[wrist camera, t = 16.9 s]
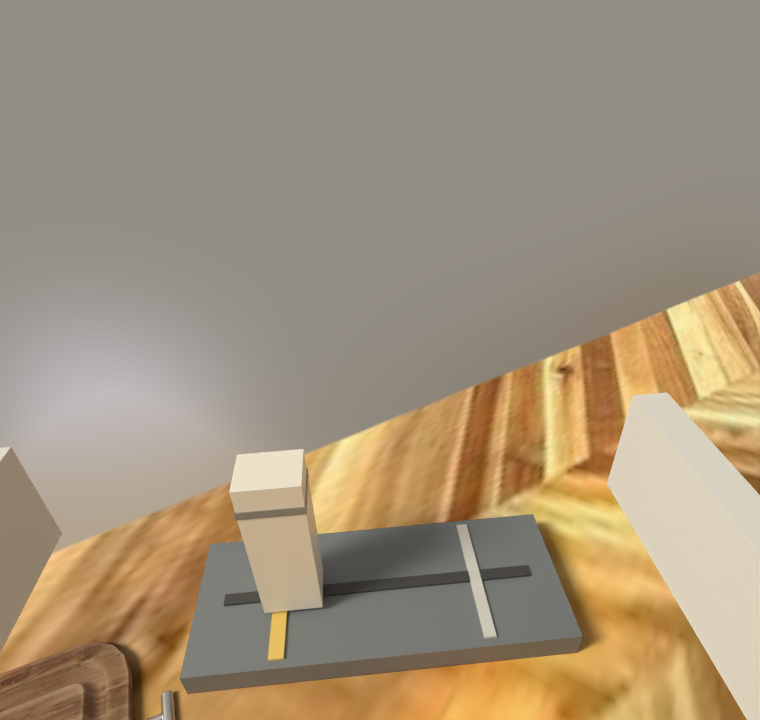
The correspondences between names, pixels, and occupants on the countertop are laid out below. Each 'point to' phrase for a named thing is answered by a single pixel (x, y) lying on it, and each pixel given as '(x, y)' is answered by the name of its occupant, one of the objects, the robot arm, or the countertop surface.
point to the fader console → (385, 607)
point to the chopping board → (75, 687)
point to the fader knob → (279, 528)
